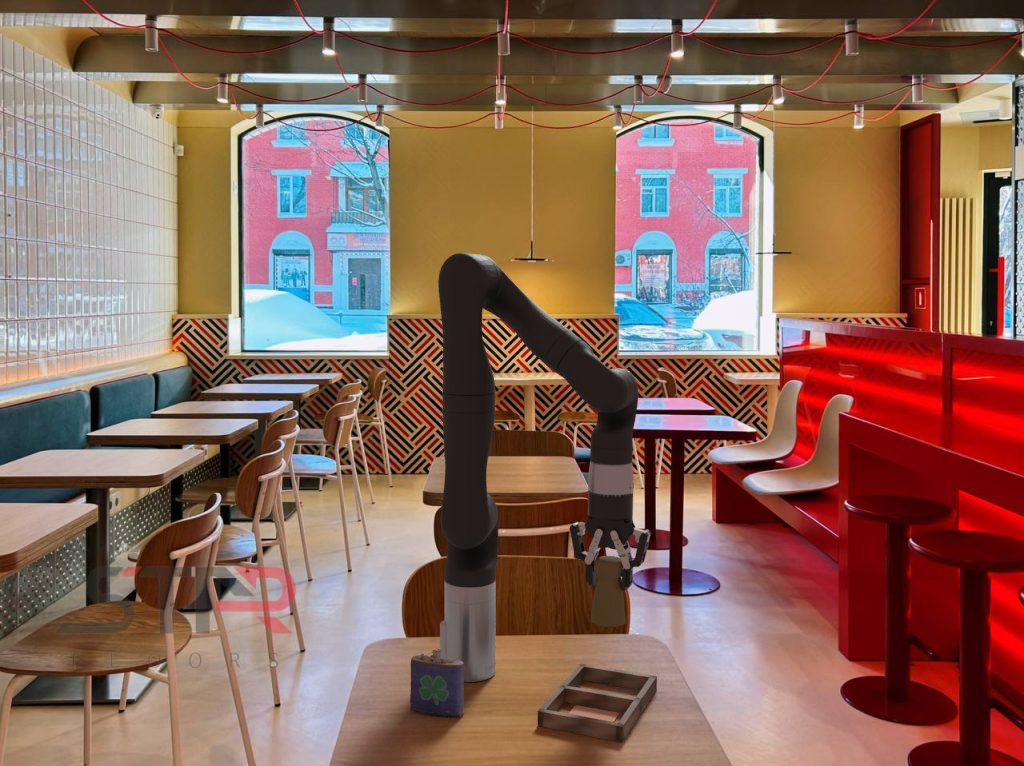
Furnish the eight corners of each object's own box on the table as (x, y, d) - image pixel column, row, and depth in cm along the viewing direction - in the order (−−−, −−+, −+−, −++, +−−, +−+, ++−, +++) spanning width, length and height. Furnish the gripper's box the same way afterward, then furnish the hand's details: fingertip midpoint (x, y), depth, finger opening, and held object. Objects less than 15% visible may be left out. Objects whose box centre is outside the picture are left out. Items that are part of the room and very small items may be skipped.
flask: (466, 712, 158) (465, 649, 157) (460, 720, 155) (459, 656, 154) (413, 705, 160) (412, 643, 159) (407, 713, 158) (406, 650, 157)
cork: (624, 628, 159) (625, 563, 158) (588, 625, 161) (589, 561, 160) (627, 615, 165) (628, 553, 164) (592, 613, 167) (593, 551, 165)
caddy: (537, 725, 153) (537, 710, 153) (580, 677, 172) (580, 663, 172) (622, 742, 148) (622, 726, 147) (656, 690, 167) (656, 676, 167)
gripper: (562, 488, 160) (561, 587, 162) (646, 496, 154) (644, 599, 156) (577, 480, 167) (575, 575, 169) (658, 487, 161) (655, 586, 163)
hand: (608, 586), depth 162 cm, fingers closed on cork, 5 cm apart
